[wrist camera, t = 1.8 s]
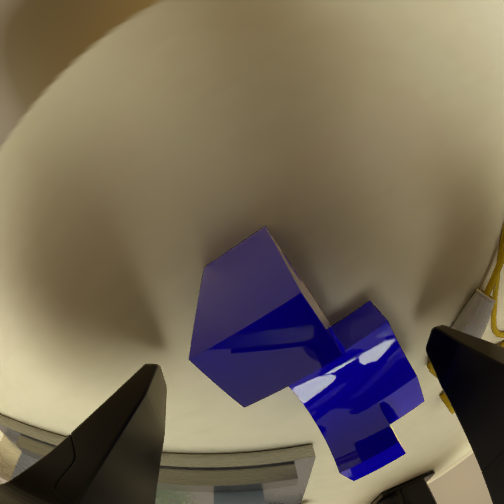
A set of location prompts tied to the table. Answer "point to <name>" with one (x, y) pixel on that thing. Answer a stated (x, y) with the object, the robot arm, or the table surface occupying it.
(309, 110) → the table surface
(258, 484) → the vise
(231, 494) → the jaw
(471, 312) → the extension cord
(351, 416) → the cable holder
